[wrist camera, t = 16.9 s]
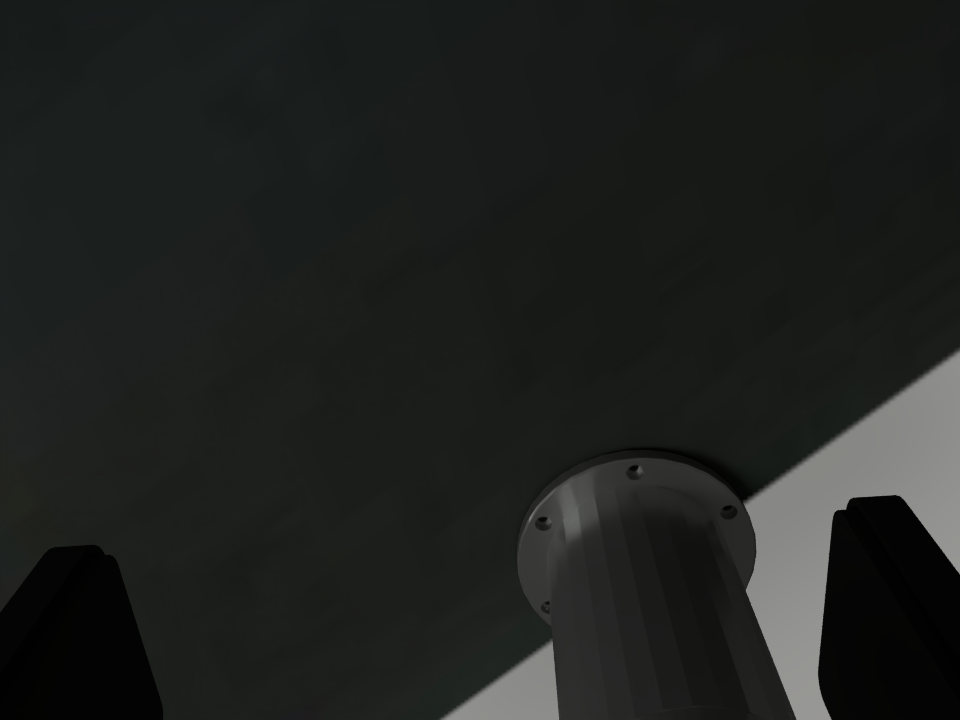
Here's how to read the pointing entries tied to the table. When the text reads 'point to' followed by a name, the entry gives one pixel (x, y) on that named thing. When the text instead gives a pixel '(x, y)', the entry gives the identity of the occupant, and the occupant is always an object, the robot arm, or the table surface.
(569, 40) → the table surface
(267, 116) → the table surface
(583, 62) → the table surface
